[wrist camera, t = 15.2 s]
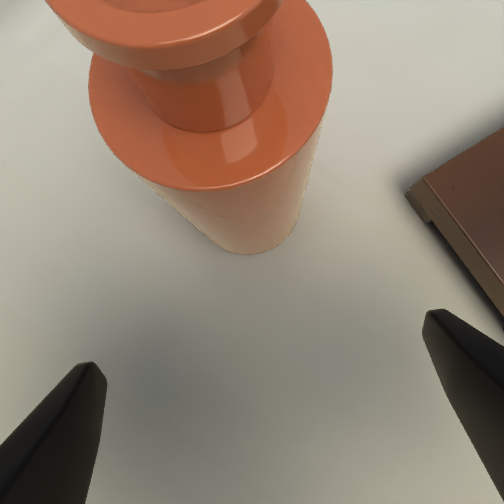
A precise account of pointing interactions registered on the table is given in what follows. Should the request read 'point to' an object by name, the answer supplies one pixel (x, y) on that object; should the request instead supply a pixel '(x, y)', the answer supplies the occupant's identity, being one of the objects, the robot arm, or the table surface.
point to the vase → (211, 105)
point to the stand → (470, 210)
